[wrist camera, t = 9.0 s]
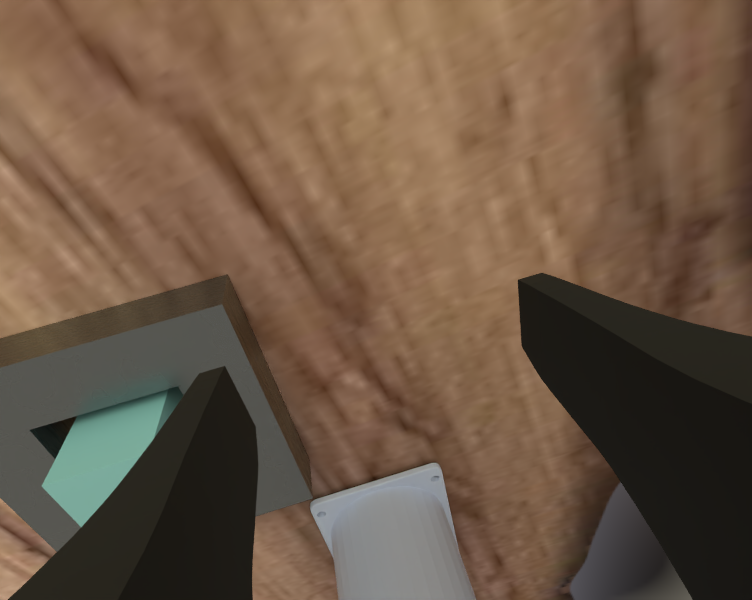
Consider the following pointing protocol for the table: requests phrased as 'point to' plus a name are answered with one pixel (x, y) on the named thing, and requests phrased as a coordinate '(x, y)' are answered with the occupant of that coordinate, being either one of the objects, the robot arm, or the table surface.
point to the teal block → (105, 451)
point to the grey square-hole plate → (135, 390)
